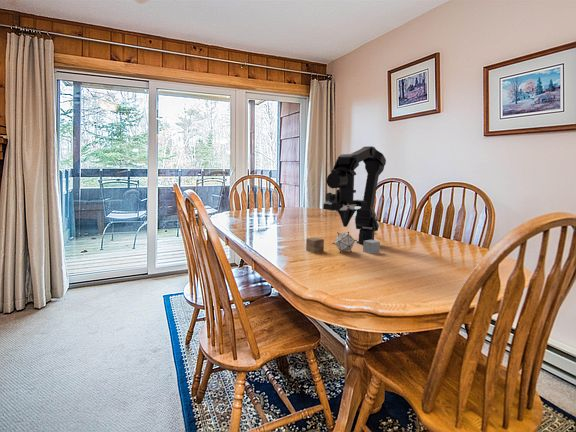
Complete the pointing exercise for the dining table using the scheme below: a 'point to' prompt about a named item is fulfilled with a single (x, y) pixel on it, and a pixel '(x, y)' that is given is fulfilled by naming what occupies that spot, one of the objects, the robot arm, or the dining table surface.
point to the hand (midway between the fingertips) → (345, 226)
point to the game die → (344, 242)
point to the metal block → (314, 244)
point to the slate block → (371, 246)
